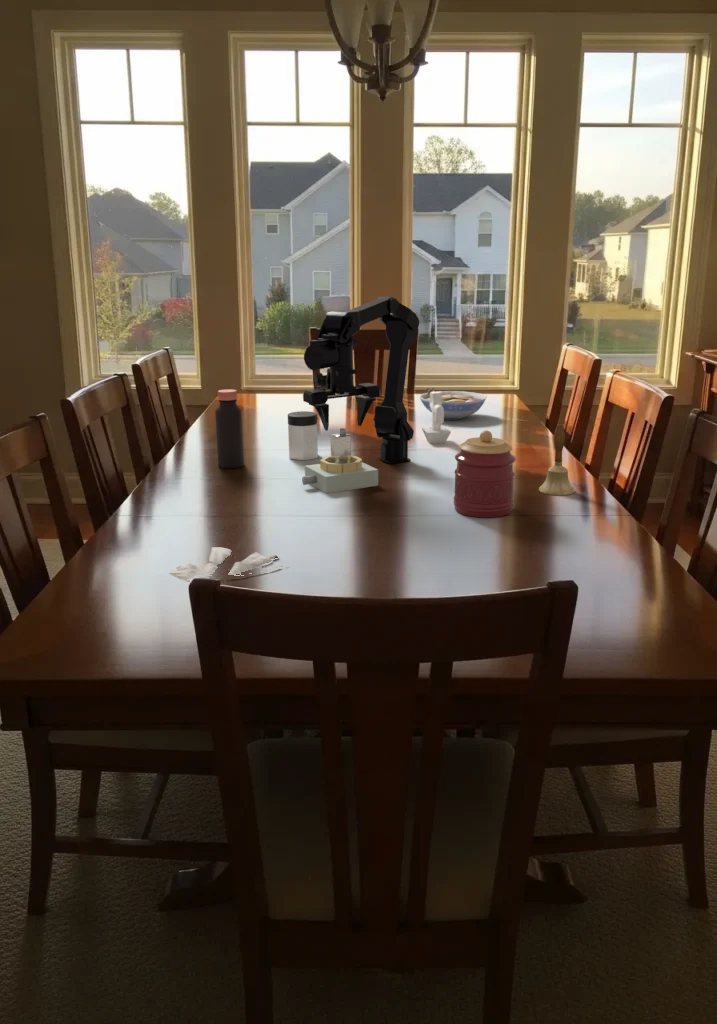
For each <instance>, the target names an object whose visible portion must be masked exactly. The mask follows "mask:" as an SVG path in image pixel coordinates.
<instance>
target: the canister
mask: <svg viewBox="0 0 717 1024" xmlns="http://www.w3.org/2000/svg"><path fill="white" fill-rule="evenodd" d="M458 448H459V449H460V452H457V453H456V454H455V455H454V459H455V460H456V463H457V464H456V468H455V469H454V475H455V476H454V496H453V505H454V510H455V512H457V513H459V514H462V515H465V516H469V517H475V518H498V517H502V516H507V515H508V514H510V513H512V511H513V506H514V500H515V499H514V486H515V485H514V484H515V483H514V481H515V474H516V473H515V471H514V463H515V462H516V459H517V458H516V456H515V455H514V454H512V453H511V451H512V450H513V447H512V445H511V444H509V443H507V441H506V440H505V439H501V438H499V437H493V434H492V432H491V431H489V430H482V431H481V433H480V434H479V437H471V438H467V439H466V440H465V441H464V442H462V443H460V444H459V446H458Z"/></svg>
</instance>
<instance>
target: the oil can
mask: <svg viewBox="0 0 717 1024" xmlns="http://www.w3.org/2000/svg"><path fill="white" fill-rule="evenodd" d="M329 436H330V456H331V463H338V464H344V463H351V456H352V435H351V433H347V429H346V428H344V427H343V428H340V429H339V432H337V433H332V434H330V435H329Z"/></svg>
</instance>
